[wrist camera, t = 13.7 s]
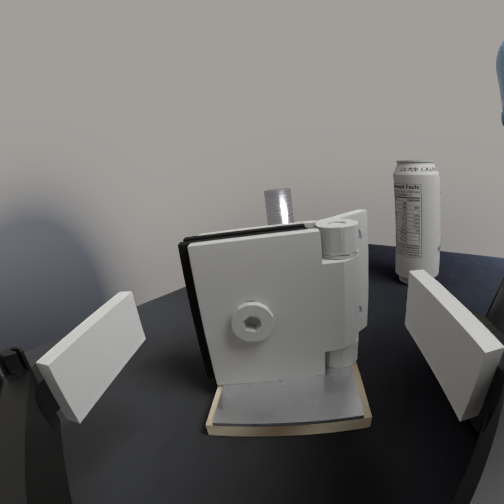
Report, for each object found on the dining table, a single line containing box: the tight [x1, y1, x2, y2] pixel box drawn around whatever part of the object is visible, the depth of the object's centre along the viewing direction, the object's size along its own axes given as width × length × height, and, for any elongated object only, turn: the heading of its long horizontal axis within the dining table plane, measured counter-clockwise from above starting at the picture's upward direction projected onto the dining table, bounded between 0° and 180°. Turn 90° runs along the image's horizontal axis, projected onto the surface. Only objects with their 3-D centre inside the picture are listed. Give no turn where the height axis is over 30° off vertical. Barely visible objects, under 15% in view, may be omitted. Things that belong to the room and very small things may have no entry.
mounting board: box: [206, 361, 372, 437], centre depth 24 cm, size 10×18×1 cm, turn 174°
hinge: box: [178, 209, 368, 385], centre depth 20 cm, size 14×5×10 cm, turn 102°
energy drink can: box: [393, 160, 441, 284], centre depth 33 cm, size 6×6×15 cm
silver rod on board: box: [212, 188, 364, 427], centre depth 22 cm, size 9×17×12 cm, turn 174°
